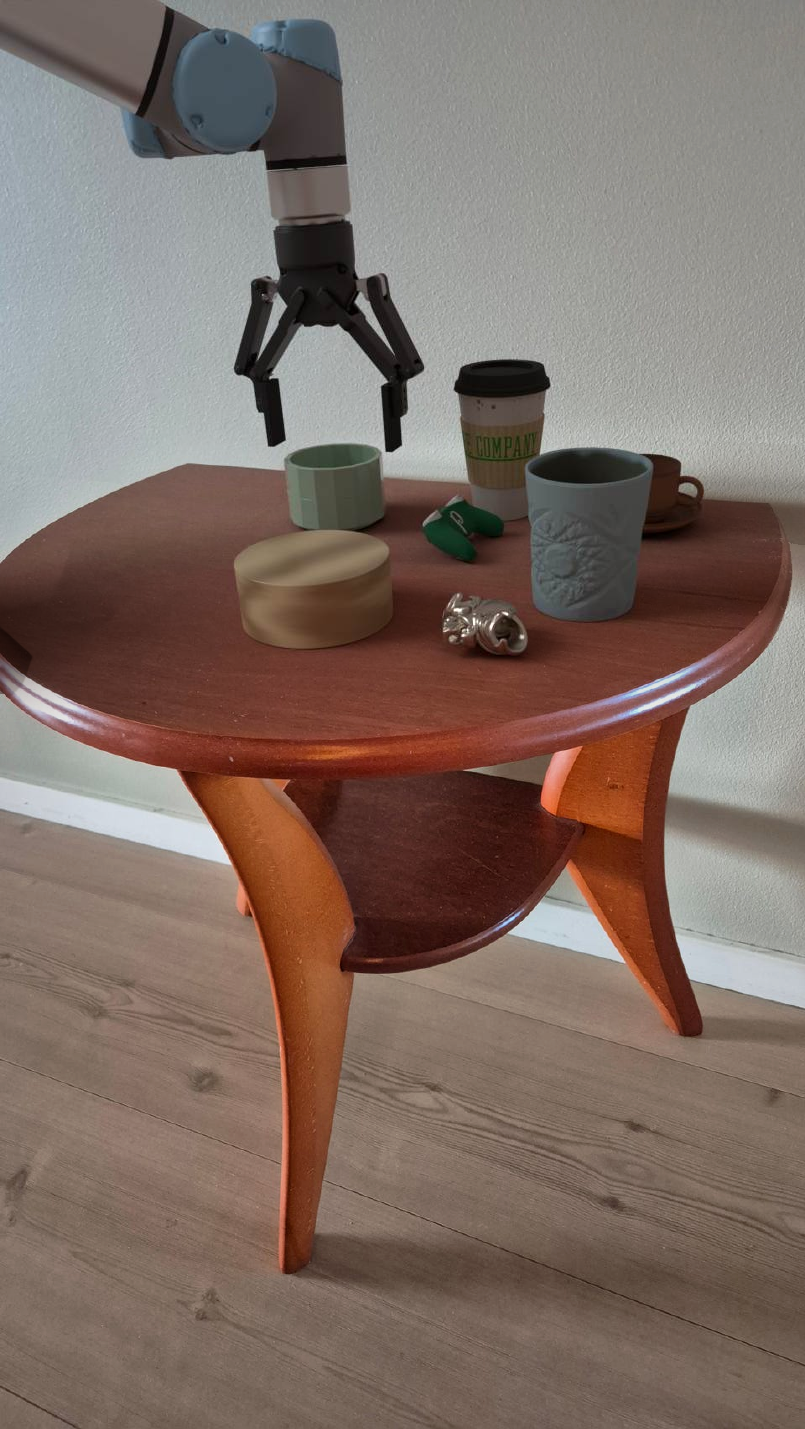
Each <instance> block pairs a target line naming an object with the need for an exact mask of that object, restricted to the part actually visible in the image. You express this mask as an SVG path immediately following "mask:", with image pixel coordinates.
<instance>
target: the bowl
mask: <svg viewBox="0 0 805 1429" xmlns="http://www.w3.org/2000/svg"><path fill="white" fill-rule="evenodd" d="M283 468H284V475H285V485H286V491H287V502H288V509H289V519H290V520H291V522H292V523H293V525H295V526H299V527H300V528H302V529H305V530H306V531H313V530H344V531H353V532H355V531H359V530H362V529H364V528H367V527H369V526H371V525H373V524H374V523H376V522H377V521H379V520H380V519H382V518H384V516H385V514H386V511H387V510H386V509H387V508H386V507H387V506H386V493H385V478H384V477H385V476H384V460H383V452H382V451H381V450H380V449H379V448H378V447H375V446H373V445H370V444H366V443H365V444H363V443H354V442H353V443H352V442H351V443H350V442H345V443H344V442H343V443H341V442H339V443H325V444H318V445H312V446H308V447H302V448H299V449H297V450H295V451H293V452H290V453H288V454H286V456H285V457H284V458H283Z"/></svg>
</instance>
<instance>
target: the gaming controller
mask: <svg viewBox="0 0 805 1429" xmlns="http://www.w3.org/2000/svg"><path fill="white" fill-rule="evenodd" d="M421 531H422V533H423V534H424V536H425V538H426V541H427V542H428V543H429V544H432V546H434V547H435V548H436V549H438V550H440V551H441V552H443V553H445V554H446V555H448V556H450V557H452V558H455V559H458V560H461V561H464V562H467V563H471V562H472V561H474V560H475V559H476V558H477V556H478V551H477V548H476V547H475V546H474V545H473V543H472V542H471V541H470V540H469V539H468V538H469V537H470V536H471V535H472V534H479V535H484V536H490V537H500V536H502V535H503V533H504V531H505V523H504V521H502V520H501V519H500V518H499V517H498V516H496V515H495V514H492V513H490V512H488V511H486V510H483V509H480V508H477V507H474V506H473V504H470V503H469V502H468V501H467V500H466V499H465V498H463V496H462V493H461V492H459V493H458V494H457V495H455V496H454V497H452V498H451V499H450V500H449V501H448V502H447V503H446V504H445V507H443V508H441V509H436V510H435V511H433V512H432V513H431V514H430V515H429V516H427V518H425V519H424V521H423V523H422V527H421Z"/></svg>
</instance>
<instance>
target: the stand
mask: <svg viewBox="0 0 805 1429" xmlns="http://www.w3.org/2000/svg"><path fill="white" fill-rule="evenodd" d="M233 569H234V576H235V582H236V589H237V597H238V602H239V609H240V616H241V623H242V628H243V630H244V632H245V633H246V635H248V636H249V637H250V638H252V639H253V640H255V641H257V642H259V643H262V644H265V645H267V646H268V645H269V646H273V647H277V648H283V649H293V650H294V649H297V650H298V649H299V650H310V649H312V650H313V649H324V648H331V647H337V646H342V645H346V644H347V645H348V644H351V643H354V642H357V641H360V640H363V639H366V638H368V637H370V636H372V635H374V634H376V633H378V632H380V631H381V630H382V629H383V628H385V627H386V626H387V625H388V624H389V623H390V621H391V620H392V618H393V616H394V602H393V587H392V586H393V585H392V570H391V554H390V548H389V546H388V545H387V544H386V543H385V541H383V540H382V539H380V538H378V537H376V536H373V535H370V534H367V533H364V532H358V531H344V530H313V531H310V530H303V531H295V532H290V533H289V532H288V533H286V534H280V535H277V536H273V537H269V538H266V539H263V540H261V541H258V542H255V543H253V544H251V545H248V547H245V548H244V549H243V550H242V551H241V552H239V553H238V554H237V555H236V557H235V559H234V561H233Z"/></svg>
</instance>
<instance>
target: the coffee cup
mask: <svg viewBox="0 0 805 1429" xmlns="http://www.w3.org/2000/svg"><path fill="white" fill-rule="evenodd" d="M551 387H552V385H551V379H550V377H549V376H548V375H547V371H546V368H545V365H544V363H542V362H539V361H536V360H529V359H518V358H515V359H514V358H509V359H508V358H505V359H489V360H481V361H476V362H471V363H467V364H464V365H462V366H461V367H460V368H459V371H458V376H457V379H456V380H455V381H454V386H453V392H455V393H456V394H457V396H458V403H459V411H460V412H459V413H460V416H459V422H460V429H461V438H462V443H463V451H464V458H465V465H466V466H465V467H466V473H467V480H468V482H469V486H470V494H471V502H472V506H474V507H477V508H480V509H483V510H486V511H488V512H490V513H492V514H495V515H496V516H498V517H499V518H500V519H501V520H502V521H503V522H505V521H507V522H509V521H514V520H515V521H516V520H520V519H523V518H526V517H527V516H528V517H529V504H528V498H527V489H526V476H525V466H526V464H527V463H528V462H529V461H530V460H532V459H534V458H535V457H537V456H538V455H541V448H542V441H543V440H542V439H543V433H544V424H545V416H546V415H545V412H544V411H545V403H546V394H547V390H549V389H550V388H551Z"/></svg>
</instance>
